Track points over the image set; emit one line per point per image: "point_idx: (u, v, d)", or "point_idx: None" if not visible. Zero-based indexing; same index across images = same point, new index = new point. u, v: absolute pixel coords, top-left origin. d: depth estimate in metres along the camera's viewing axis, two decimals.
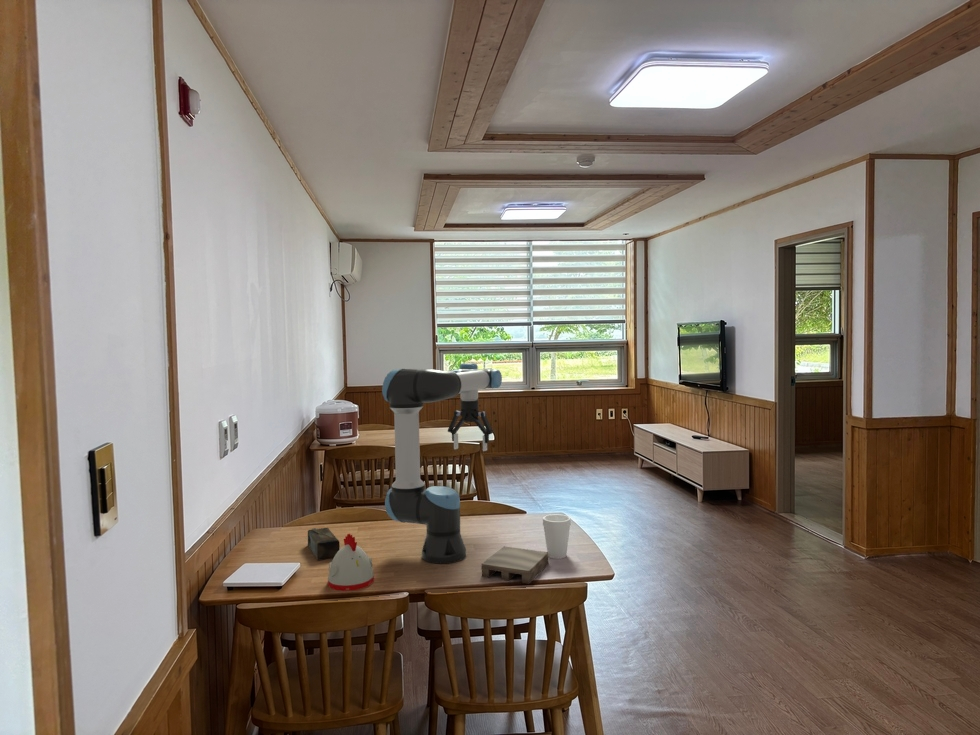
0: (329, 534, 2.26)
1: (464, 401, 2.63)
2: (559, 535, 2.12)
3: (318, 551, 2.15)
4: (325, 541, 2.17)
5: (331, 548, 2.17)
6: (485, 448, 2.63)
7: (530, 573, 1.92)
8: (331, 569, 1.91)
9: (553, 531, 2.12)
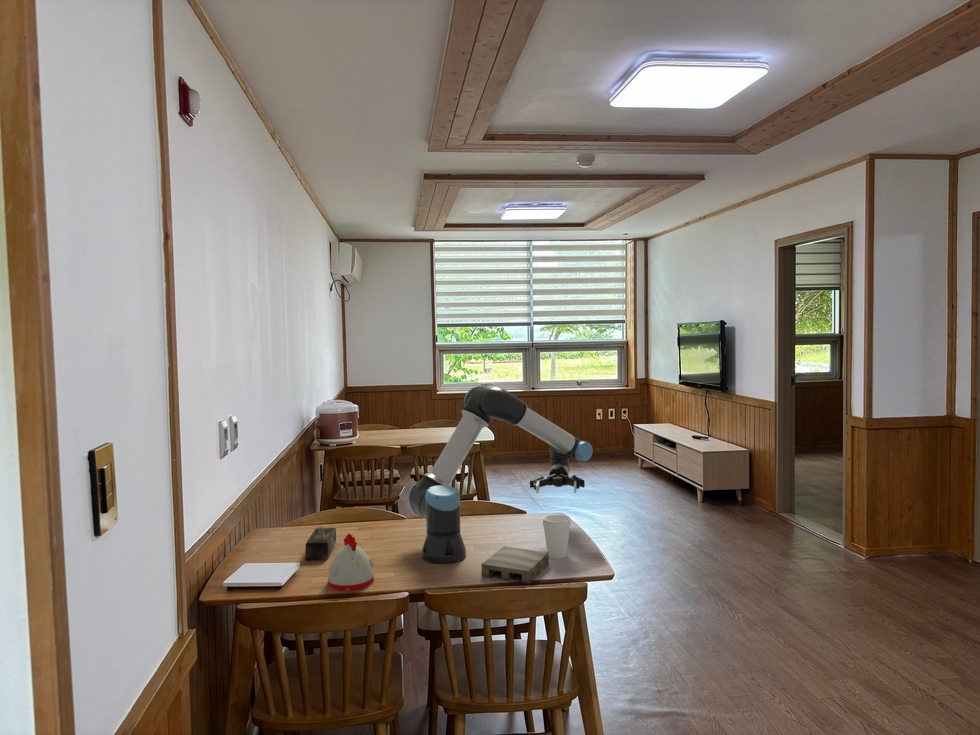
0: (328, 534, 2.25)
1: None
2: (559, 535, 2.12)
3: (306, 551, 2.15)
4: (314, 542, 2.16)
5: (319, 550, 2.15)
6: (576, 487, 2.26)
7: (530, 573, 1.92)
8: (331, 569, 1.91)
9: (553, 531, 2.12)
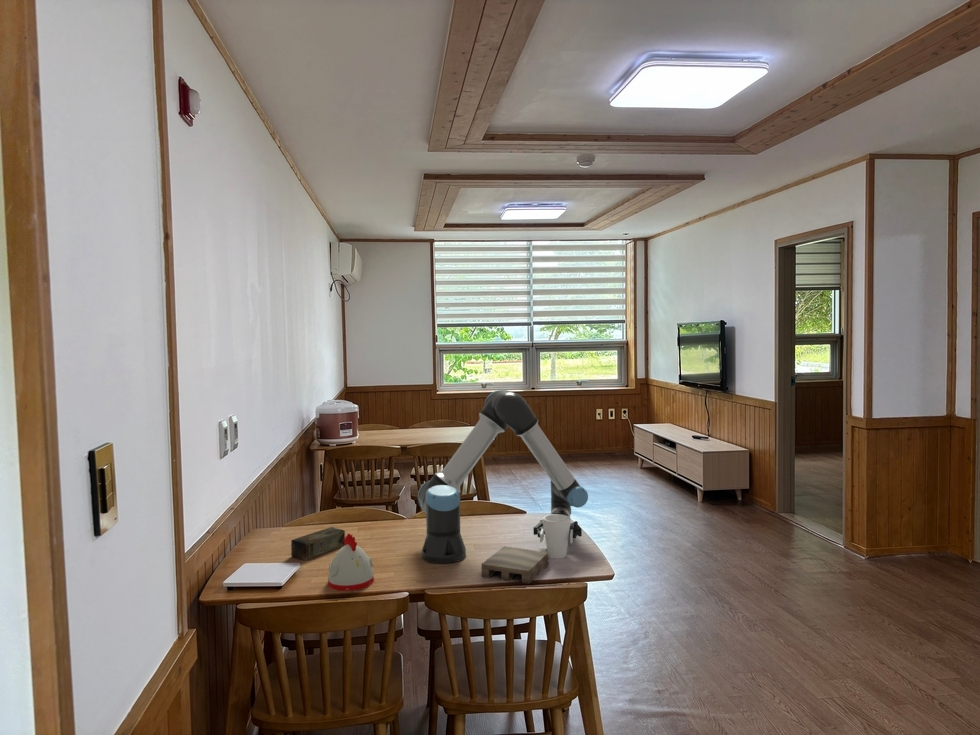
0: (324, 535, 2.24)
1: None
2: (559, 535, 2.12)
3: (291, 548, 2.19)
4: (298, 540, 2.18)
5: (299, 549, 2.16)
6: (572, 537, 2.12)
7: (530, 573, 1.92)
8: (331, 569, 1.91)
9: (553, 531, 2.12)
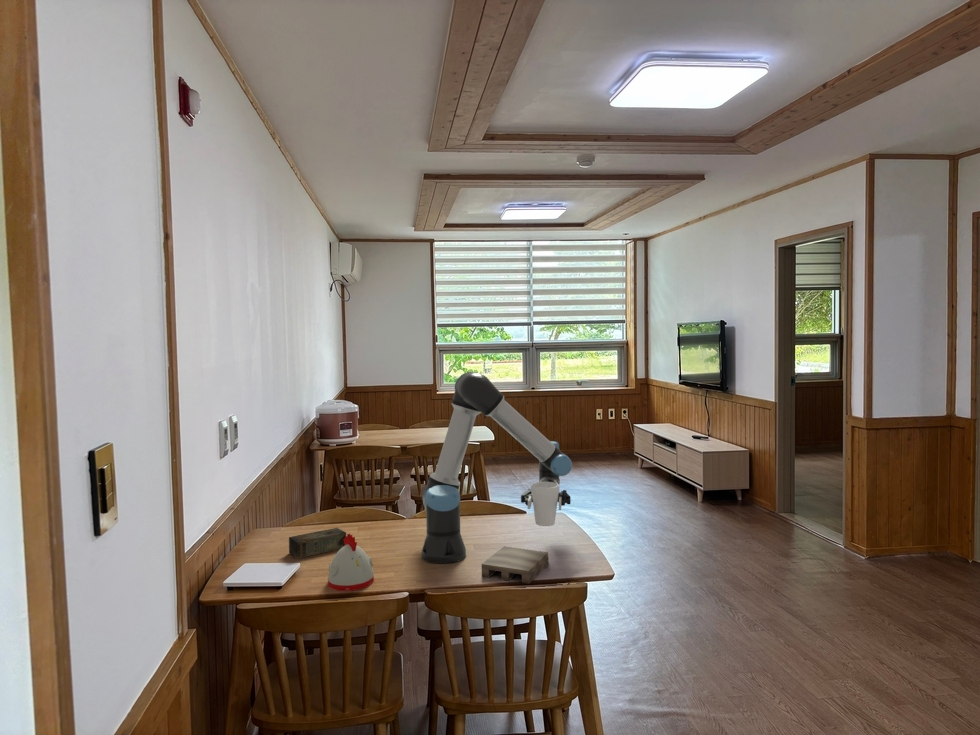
0: (321, 536, 2.24)
1: None
2: (547, 502, 2.05)
3: (289, 545, 2.22)
4: (293, 538, 2.21)
5: (292, 547, 2.19)
6: (561, 504, 2.05)
7: (530, 573, 1.92)
8: (331, 569, 1.91)
9: (541, 497, 2.05)
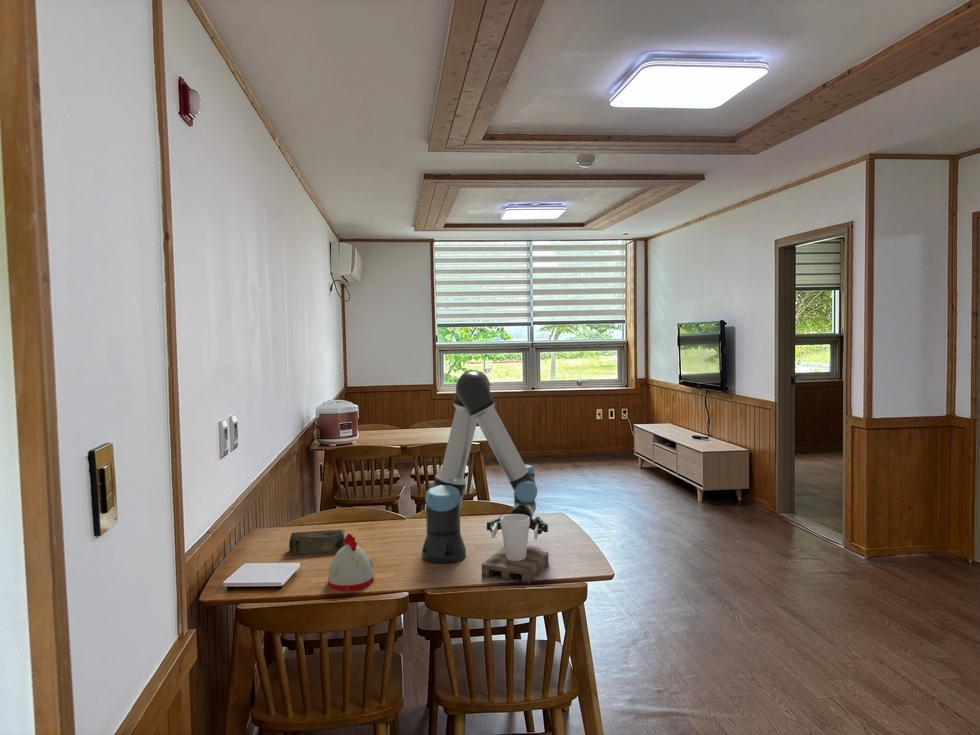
0: (318, 536, 2.24)
1: None
2: (517, 536, 1.99)
3: None
4: (293, 534, 2.25)
5: None
6: (536, 533, 1.99)
7: (530, 573, 1.92)
8: (331, 569, 1.91)
9: (511, 531, 1.99)
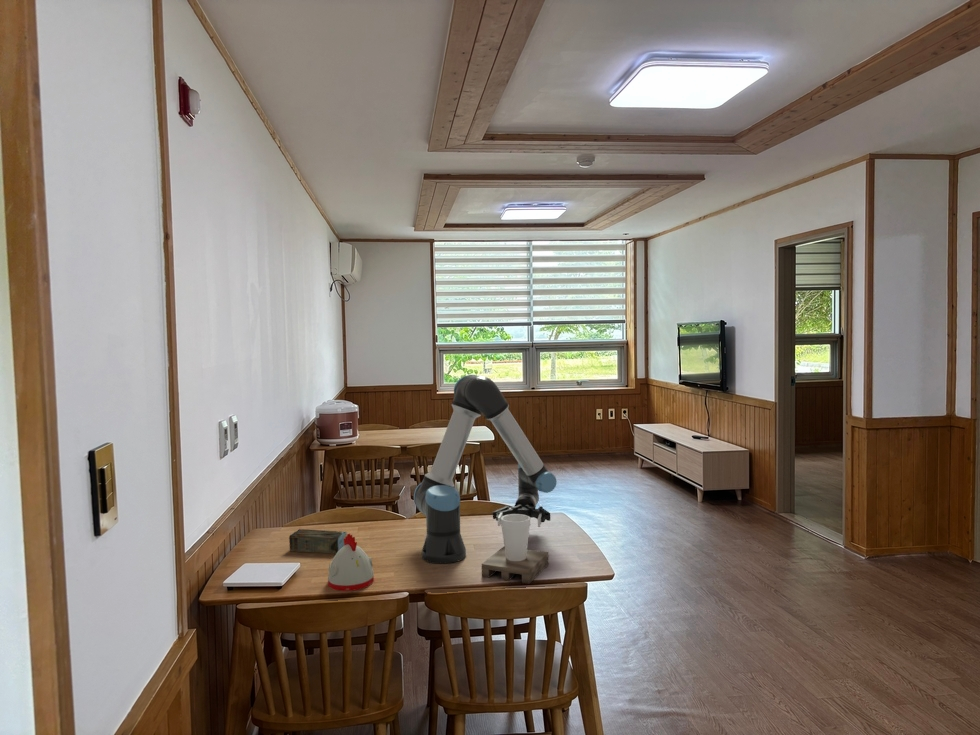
0: (316, 535, 2.24)
1: None
2: (517, 536, 1.99)
3: None
4: (297, 531, 2.29)
5: None
6: (540, 521, 2.12)
7: (530, 573, 1.92)
8: (331, 569, 1.91)
9: (511, 532, 1.99)
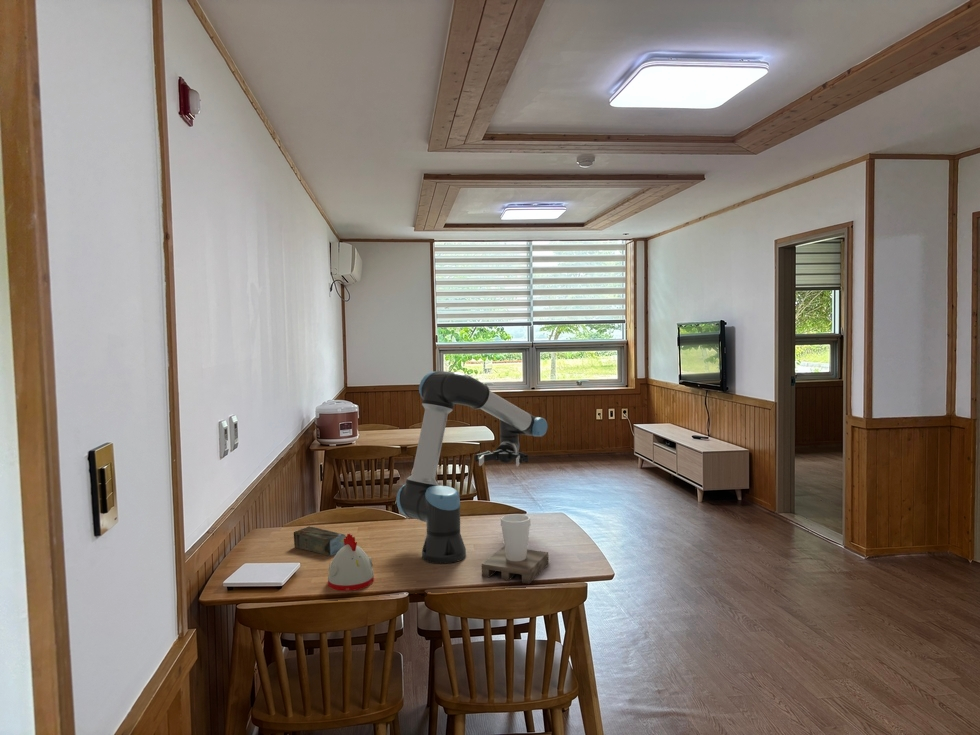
0: (315, 535, 2.25)
1: None
2: (517, 536, 1.98)
3: None
4: (304, 528, 2.32)
5: None
6: (518, 461, 2.28)
7: (530, 573, 1.92)
8: (331, 569, 1.91)
9: (511, 532, 1.99)
